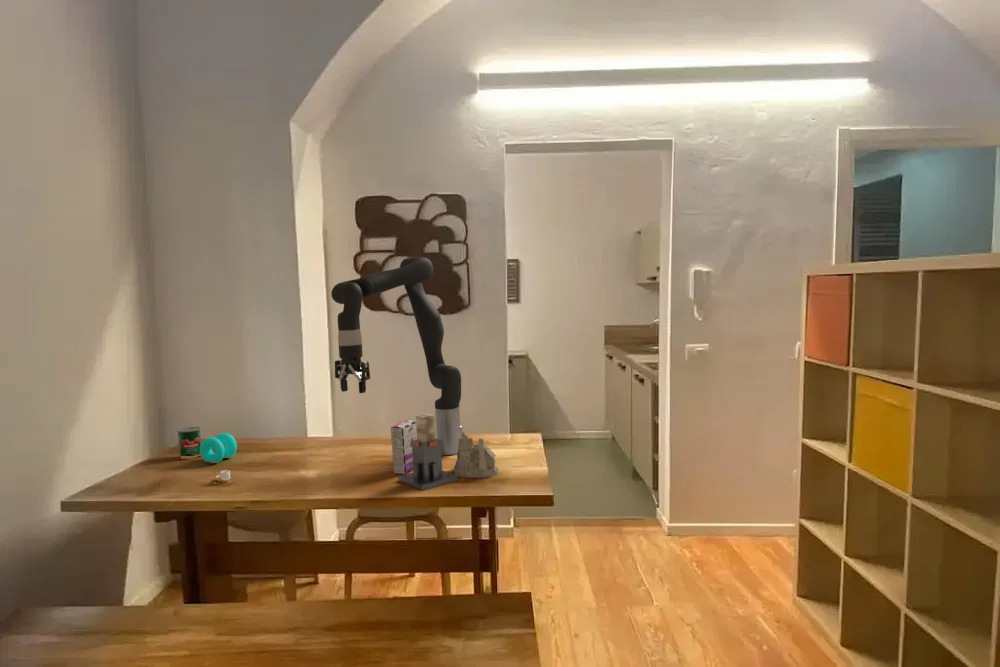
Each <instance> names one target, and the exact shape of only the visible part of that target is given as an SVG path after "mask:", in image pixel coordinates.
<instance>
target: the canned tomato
mask: <svg viewBox="0 0 1000 667" xmlns="http://www.w3.org/2000/svg"><path fill="white" fill-rule="evenodd" d="M177 436H178V437H177V438H178V451H179V456H180V455H181V456H195V455H199V454H200V446H201V443H202V438H201V437H202V436H201V427H200V426H189V427H184V428H180V429H178V430H177Z"/></svg>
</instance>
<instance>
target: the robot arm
mask: <svg viewBox="0 0 1000 667" xmlns="http://www.w3.org/2000/svg"><path fill="white" fill-rule="evenodd" d="M433 273H434V266H433V263H432V261H431V260H430V259H429V258H427V257H424V256H414V257H407V258H403V259H402V260H401V262H400V264H399V267H397V268H393V269H388V270H382V271H379V272H375V273H371V274H368V275H364V276H363V277H360V278H356V279H350V280H345V281H342V282H338V283H337V284H336V285H334V286H333V287H332V290H331V298H332V300H333V302H335V303H337V304H340V305H343V310H342V311H341V312H339V313H338V314H337V330H338V331H337V332H338V333H337V340H338V341H337V342H338V344H337V345H338V356H339V357H338V358H340V359H337V360H335V361H334V378H336V379H338V380H339V382H340V391H341V392H342V393H344V392H347V391H349V390H348V388H349V387H348V376H349V375H353V377H355V378H356V379H357V381H358V382H357V383H358V392H359V394H364V393H366V389H367V385H366V384H367V382H366V381H369V380H370V379H371V373H370V364H369V363H370V362H369V361H368V360H366V361H362V357H363V339H362V332H361V322H360V315H361V311H362V310H361V309H362V305H363V298H369V297H373V296H376V295H379V294H381V293H384V292H387V291H389V290H394V289H395V288H399V287H401V286H404V289H405V291H406V294H407V296H408V299H409V302H410V306H411V309H412V313H413V316H414V319H415V323H416V327H417V332H418V334H419V337H420V342H421V345H422V349H423V352H424V355H425V362H426V366H427V374H428V378H429V382H430V383H431V385H432V386H433V388H436V389H438V390H441V394H440V397H439V398H437V399H436V400H435V401H434V414H435V433H436V439H440V440H441V453H442V456H443V455H444V456H451V455H457V454H458V445H459V442H458V438H460V439H461V438H462V432H463V426H462V425H461V416H460V413H461V412H460V403H461V399H462V375H461V372H460V369H459V368H458V367H456V366H454V365H449V364H446V363H445V360H444V357H443V352H442V351H443V350H442V345H443V340H444V331H445V330H444V325H443V321H442V317H441V315H440V312H439V310H438V309H437V307H436V306H435V305H434V304H433V302H432V301H431V299H430V298H429V297H428V295H427V294H426V292H425V290H424V285H423V284H422V283H426V282H427V281H429V280H430V279H431V277H432V276H433Z"/></svg>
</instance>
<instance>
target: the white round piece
mask: <svg viewBox="0 0 1000 667" xmlns="http://www.w3.org/2000/svg"><path fill="white" fill-rule="evenodd" d="M219 473H220V474H219V475H215V477H216V478H217V477H219V476H221V479H222V480H227V481H228V480H229V479H230V478H231V470H229V469H224V470H221V471H220V472H219Z"/></svg>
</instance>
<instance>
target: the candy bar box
mask: <svg viewBox="0 0 1000 667" xmlns="http://www.w3.org/2000/svg"><path fill="white" fill-rule="evenodd" d="M390 434H391V446H392V448H391V449H392V451H391V453H392V467H393V474H396V475H406V474H410V472H413V456H412V440H415V439H417V431H416V419H414V420H413V419H411V420H410V419H405V420H404V421H402V422H399V423H397V424H395V425H393V426H391V427H390Z"/></svg>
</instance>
